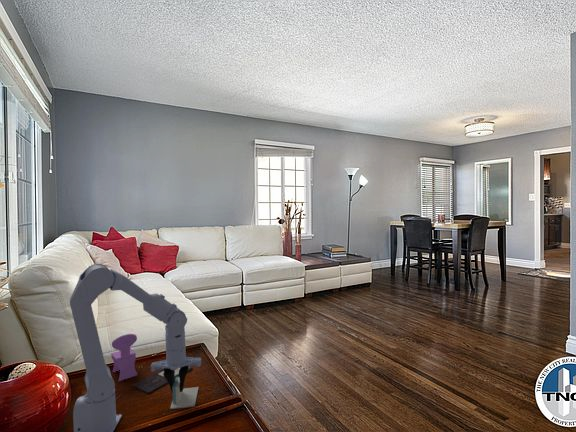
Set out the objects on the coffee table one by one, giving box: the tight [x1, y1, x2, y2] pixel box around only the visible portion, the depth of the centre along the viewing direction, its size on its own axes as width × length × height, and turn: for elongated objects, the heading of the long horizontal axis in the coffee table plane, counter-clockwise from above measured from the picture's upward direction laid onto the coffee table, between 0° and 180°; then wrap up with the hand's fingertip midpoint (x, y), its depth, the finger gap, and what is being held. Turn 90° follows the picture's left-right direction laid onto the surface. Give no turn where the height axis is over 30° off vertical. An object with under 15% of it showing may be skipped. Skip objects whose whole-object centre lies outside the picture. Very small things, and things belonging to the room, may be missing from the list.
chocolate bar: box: [131, 366, 194, 395], centre depth 113 cm, size 9×1×18 cm
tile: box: [172, 377, 182, 404], centre depth 100 cm, size 2×6×5 cm, turn 9°
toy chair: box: [110, 333, 139, 382], centre depth 116 cm, size 8×9×15 cm
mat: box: [169, 386, 200, 410], centre depth 100 cm, size 7×10×1 cm
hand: (177, 390), depth 100 cm, fingers closed on tile, 2 cm apart
